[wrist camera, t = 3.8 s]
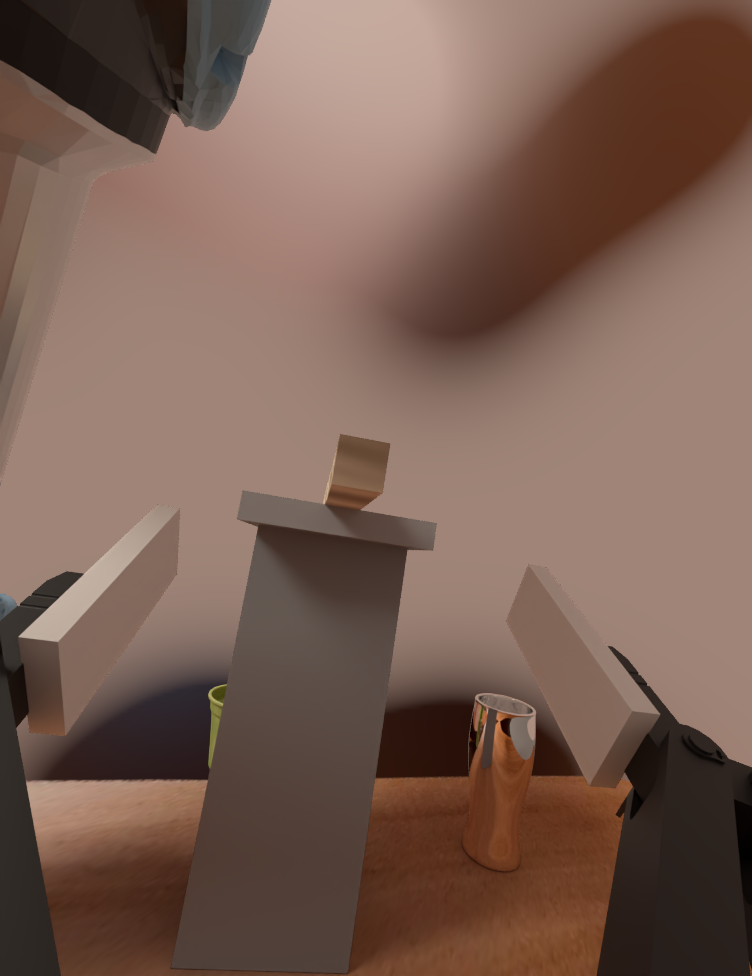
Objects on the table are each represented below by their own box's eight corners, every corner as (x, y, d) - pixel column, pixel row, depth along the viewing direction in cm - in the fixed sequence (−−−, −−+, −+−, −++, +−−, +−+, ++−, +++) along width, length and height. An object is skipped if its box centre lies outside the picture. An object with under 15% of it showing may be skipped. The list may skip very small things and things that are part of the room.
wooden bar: (382, 492, 21) (390, 443, 21) (331, 484, 20) (340, 434, 21) (343, 522, 46) (347, 500, 46) (320, 518, 46) (324, 496, 46)
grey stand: (369, 1038, 26) (436, 523, 31) (130, 1035, 24) (242, 490, 29) (347, 853, 42) (394, 531, 47) (201, 843, 40) (266, 510, 45)
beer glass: (482, 823, 50) (495, 690, 53) (537, 860, 45) (549, 711, 47) (444, 841, 46) (461, 695, 48) (501, 885, 41) (516, 719, 43)
